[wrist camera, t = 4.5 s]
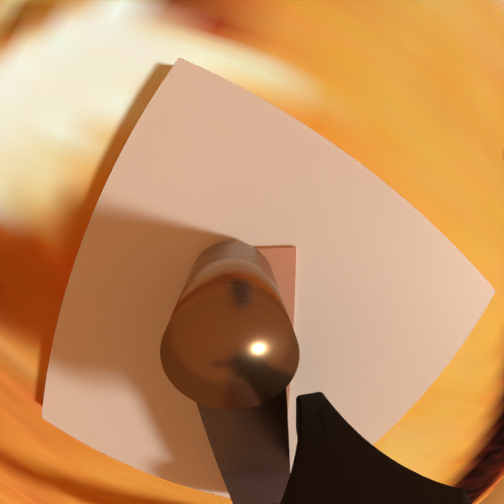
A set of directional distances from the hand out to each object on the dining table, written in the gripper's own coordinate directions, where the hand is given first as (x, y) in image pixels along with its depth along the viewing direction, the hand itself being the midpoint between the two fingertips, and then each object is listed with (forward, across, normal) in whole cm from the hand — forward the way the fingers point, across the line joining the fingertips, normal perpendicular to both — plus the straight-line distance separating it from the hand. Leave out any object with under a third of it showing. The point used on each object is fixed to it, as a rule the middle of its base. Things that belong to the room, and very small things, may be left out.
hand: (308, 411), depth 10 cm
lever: (+2, +2, +2) cm, 3 cm away
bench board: (+3, +2, 0) cm, 4 cm away
